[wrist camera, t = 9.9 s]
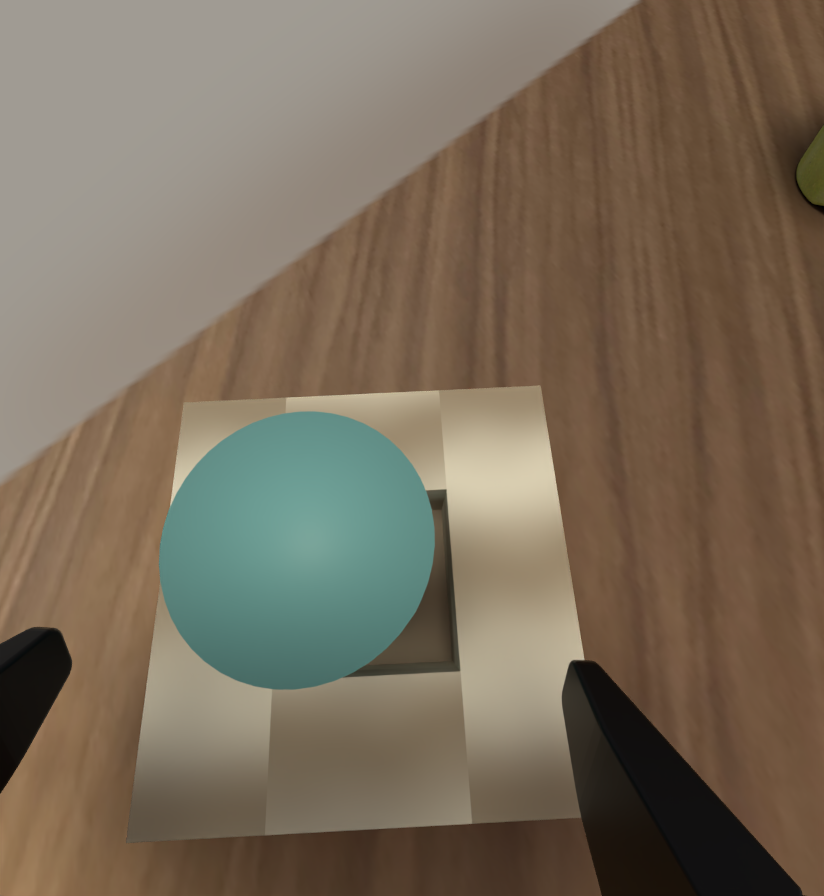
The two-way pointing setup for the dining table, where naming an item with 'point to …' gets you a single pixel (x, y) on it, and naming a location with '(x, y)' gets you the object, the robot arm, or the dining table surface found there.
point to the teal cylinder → (296, 550)
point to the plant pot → (813, 171)
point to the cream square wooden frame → (390, 654)
